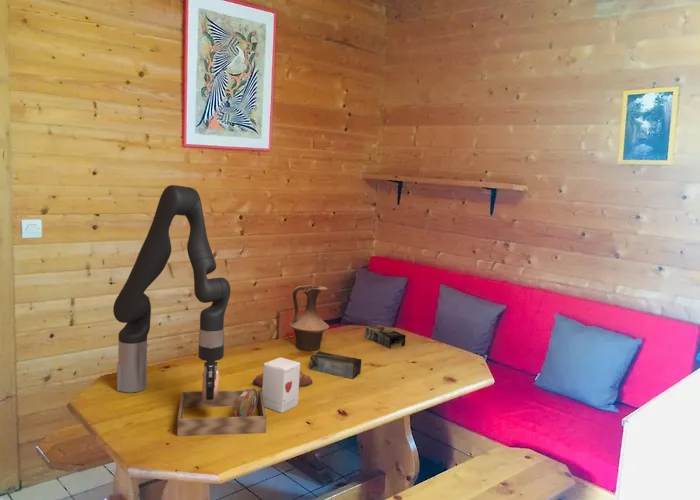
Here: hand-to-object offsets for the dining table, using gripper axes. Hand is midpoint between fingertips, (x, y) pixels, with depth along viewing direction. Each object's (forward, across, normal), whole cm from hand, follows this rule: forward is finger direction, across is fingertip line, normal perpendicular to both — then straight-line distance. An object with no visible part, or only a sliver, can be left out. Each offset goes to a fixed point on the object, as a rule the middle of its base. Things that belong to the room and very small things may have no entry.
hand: (210, 395), depth 187 cm
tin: (+8, 0, +11) cm, 14 cm away
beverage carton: (+8, -40, +48) cm, 62 cm away
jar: (+2, 0, 0) cm, 2 cm away
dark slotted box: (+9, -77, +78) cm, 110 cm away
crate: (+8, 0, +4) cm, 9 cm away
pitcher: (+8, -69, +41) cm, 81 cm away
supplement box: (+8, -9, +23) cm, 26 cm away
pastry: (+8, -28, +26) cm, 39 cm away
